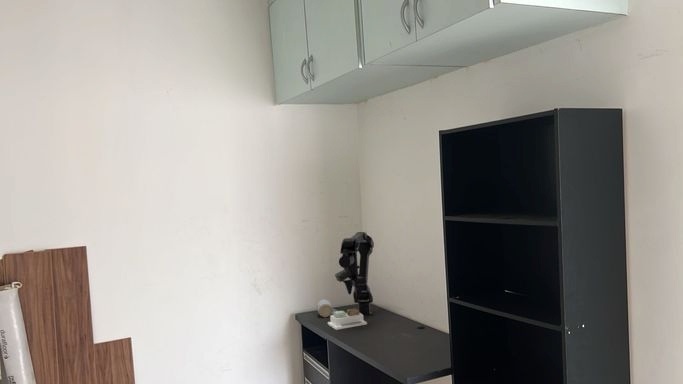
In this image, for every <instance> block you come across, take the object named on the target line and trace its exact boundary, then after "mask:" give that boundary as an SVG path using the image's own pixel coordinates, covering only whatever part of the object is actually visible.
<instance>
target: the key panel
mask: <svg viewBox="0 0 683 384" xmlns="http://www.w3.org/2000/svg"><path fill="white" fill-rule="evenodd" d="M329 317H330V321H328V322H327V325H328V326H329V327H331V328H333V329H334V330H336V331H338V330H343V329H349V328H353V327H359V326H365V325H368V322H367V321H366V320H364V316H363V314H361V313H359V315H354V316H349V315H348V314H347V312H346V317H342V318H335V317H334V315H333V314H331V315H330V316H329Z"/></svg>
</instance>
